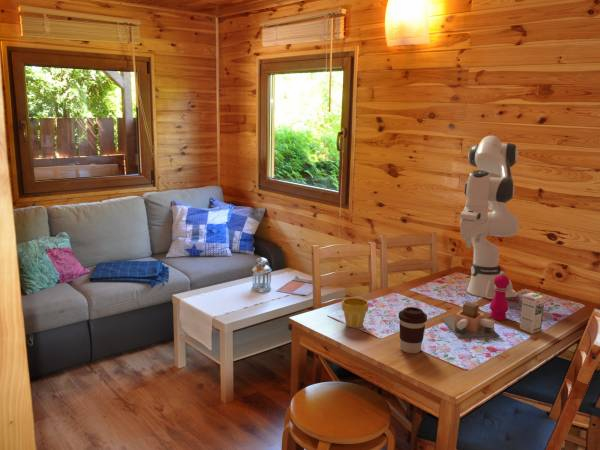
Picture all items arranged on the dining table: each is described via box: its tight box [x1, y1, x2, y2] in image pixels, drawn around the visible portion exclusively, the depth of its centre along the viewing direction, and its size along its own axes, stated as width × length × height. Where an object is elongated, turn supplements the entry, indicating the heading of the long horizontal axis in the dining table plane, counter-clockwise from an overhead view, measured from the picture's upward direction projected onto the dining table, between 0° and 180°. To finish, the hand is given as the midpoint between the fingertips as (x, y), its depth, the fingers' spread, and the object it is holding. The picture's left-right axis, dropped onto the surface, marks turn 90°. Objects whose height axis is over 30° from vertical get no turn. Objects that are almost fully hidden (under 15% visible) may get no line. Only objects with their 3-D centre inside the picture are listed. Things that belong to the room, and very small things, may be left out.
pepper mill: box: [489, 271, 510, 321], centre depth 215 cm, size 7×7×20 cm
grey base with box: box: [440, 308, 500, 339], centre depth 205 cm, size 18×16×6 cm
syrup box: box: [519, 292, 546, 334], centre depth 204 cm, size 6×6×14 cm
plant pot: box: [341, 297, 369, 329], centre depth 206 cm, size 10×10×10 cm
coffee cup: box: [398, 306, 428, 354], centre depth 185 cm, size 10×10×15 cm
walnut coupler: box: [462, 301, 479, 318], centre depth 205 cm, size 4×4×9 cm
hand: (473, 244), depth 210 cm, fingers open, 8 cm apart
